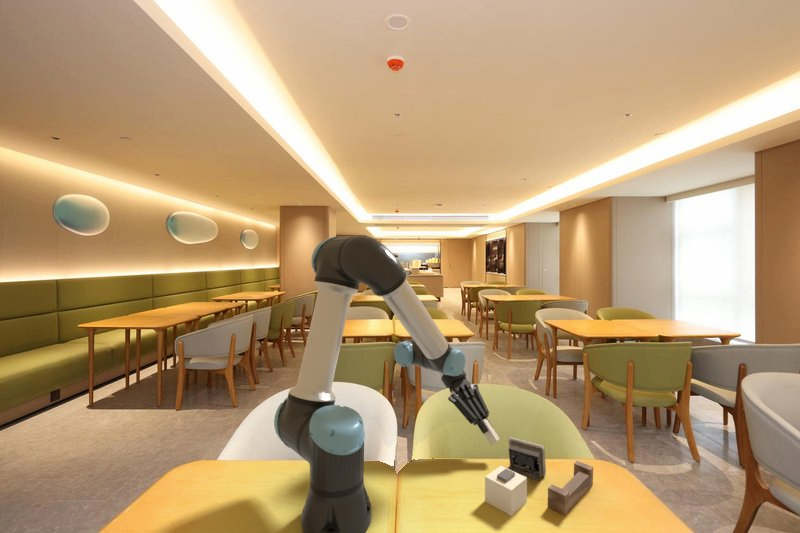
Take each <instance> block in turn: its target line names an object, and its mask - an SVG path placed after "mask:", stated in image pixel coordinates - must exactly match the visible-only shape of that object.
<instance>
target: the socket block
mask: <svg viewBox="0 0 800 533" xmlns="http://www.w3.org/2000/svg"><path fill="white" fill-rule="evenodd" d="M527 500H528V477H526V476H523V475H520V474H518V473H516V472H514V471H512V469H511V470H510V469H509V468H507V467H505V466H504V465H499V466H498V467H497V468H495V469H494V470H493V471H491V472H489V473H488V474H487V475H485V476H484V502H485V503H487V504H488V505H489V504H490V505H491V506H493V507H495V508H497V509H498V510H500V511H502V512H503V513H505V514H506V515H509V516H510V517H512V516H513V515H515V513H517V512H518V511H519V510H520V509H521V508H522V507H523V506H524V505H525V504H527V502H528V501H527Z"/></svg>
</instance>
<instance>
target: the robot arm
mask: <svg viewBox="0 0 800 533" xmlns="http://www.w3.org/2000/svg"><path fill="white" fill-rule="evenodd" d="M311 268H313V272H314V274H315V275H314V281H313V284H314V285H315V287H316V289H317V294H316V299H315V303H314V307H313V312H312V317H311V322H310V325H309V330H308V334H307V339H306V343H305V347H304V350H303V351H304V352H303V357H302V361H301V366H300V369H299V374H298V378H297V383H296V385H294V386H292V388H290V389H289V391H288V394H287V397H286V398H284V400H283V402H280V404H279V405H278V407H277V409H276V412H275V414H274V419H273V423H274V424H273V426H274V430H275V433H276V435H277V437H278V438H279V439H280V441H281V442H282V443H283V445H285V446H286V447H287V448H289V449H291V450H293V452H295V453H296V454H297V455H299V456H300V457H301V458H303V459H304V461H306V462H307V463H308V464H309V490H308V494H307V496H306V500H305V504H304V507H302V508H303V509H302V511H301V530H302V533H366V532H367V531H368V529H369V528H370V525H371V523H372V505H371V501H370V498H369V495H368V492H367V489H366V486H365V483H364V480H365V476H364V470H365V467H364V466H365V463H364V462H365V437H366V436H365V435H366V433H365V427H364V419H363V417H362V416H361V414H360V413H359V412H358V411H356V410H355V409H354V408H351V407H349V406H345V405H343V406H341V405H338V404H337V405H336V404H335V403H336V399H337V398H336V397H337V396H336V395H335V393H334V392H333V390H332V388H333V383H334V378H335V374H336V373H335V372H336V369H337V364H338V360H339V354H340V350H341V347H342V346H341V345H342V339H343V335H344V330H345V326H346V321H347V316H348V313H349V307H350V302H351V298H352V296H354V295H356V293H358V292H359V288H360V284H363V285H365V286H367V287H368V288H369V289H370V290H371V291H372V292H373V294H374V295H375V296H376V297H381V298H382V299H383V301H384V302H385V303H386V304H387V306H388V307H389V309H390V310H391V311H392V313H393V314H394V315H395V317H396V318H397V320H398V321H399V322H400V323H401V325H402V326H403V328H404V329H405V330H406V332H407V333H408V335H409V336H410V338H412V339H406V340H404V341H401V342H398V343H396V345H395V346H394V350H393V353H394V354H393V358H394V360H395V362H396V363H397V365H399V366H401V367H403V368H405V367H411V366H416V367H420V368H423V369H426V370H430V371H434V372H436V374H437V375H438V377H440V379H441V382H442V384H444V386H445V388H446V389H448V390H449V392H450V395H449V396H448V398H447V399H448V401H449V403H452V404H453V405H454V406H455V407H456V408H457V410H459V412H460V413H461V414H462V416H463V417H464V418H465V419H466V420H467V421H468V422H469V423H470V424H471V425H473V426H476V425H477V426H478V428H479V430H480V431H481V433H482V434H483V435H484V436H485V438H486V439H487V440H488V442H489V444H490V445H494V444H495V443H496V442H498V441H499V440H500V437H499V436H498V434H497V432H496V431H495V429H494V427H493V425H492V423H491V422H490V420H489V419H488V417H489V414H490V410H489V408H488V407H487V404H486V403H485V400H484V398H483V396H482V394H481V392H480V389H479V385H478V384H477V383H475V384H472V383H471V382H470V381H469V380H468V379H467V373H466V372H465V368H466V362H467V361H466V360H467V359H466V355H465V353H464V352H463V351H462V350H460V349H458V348H453V347H452V346H451V344H449V342H448V340H447V338H446V337H445V336H444V334H443V332H442V331H441V330H440V328H439V327H438V325H437V323H436V322H435V320H434V319H433V317H432V316H431V315H430V313H429V312H428V310H427V308H426V307H425V306H424V303H423V302H422V300H420V297H419V296H418V295H417V293H416V291H415V290H414V289H413V287H412V285H411V284H410V283H409V281H408V280H407V279H408V272H407V271H406V269H405V268H404V266H403V265H402V264H401V262H400V261H399V259H398V258H397V257H396V255H394V253H392V251H391V250H390V249H389V248H388V247H387V246H386V245H385V244H383V243H382V242H381V241H380V240H377V239H376V238H374V237H373V236H369V235H368V236H367V235H365V234H363V235H362V234H361V235H350V236H349V235H348V236H347V235H346V236H341V235H340V236H333V237H329V238H327V239H324V240H322V241H321V242H319V244H317V245H316V247H315V248H314V250H313V252H312V255H311Z"/></svg>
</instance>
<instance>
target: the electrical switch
mask: <svg viewBox="0 0 800 533" xmlns="http://www.w3.org/2000/svg"><path fill="white" fill-rule="evenodd" d="M508 445H509V446H508V454H509V455H508V458H509V468H510V469H509V470H512V471H514V472H516V473H518V474H520V475H522V476H524V477H527V478H530V479H531V480H536V481H538V482H540V481H541V478H542V476H543V477H545V476H546V473H547V470H546V469H547V468H546V465H547V464H546V448H545V447H544V445H543V444H540V443H535V442H531V441H528V440H524V439H522V438H517V437H513V436H509V438H508ZM526 471H527V472H526Z"/></svg>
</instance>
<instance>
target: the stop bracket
mask: <svg viewBox="0 0 800 533" xmlns="http://www.w3.org/2000/svg"><path fill="white" fill-rule="evenodd" d="M593 485H594V467H593V466H591V465H589V464H587V463H585V462H583V461H582V462H581V461H579V460H576V461H575V462H574V463H573V477H571V478H570V479H569V480H568V481H567V483H566V484H565V485H564V486H562V487H558V486H557V485H554V484H550V486H548V487H547V507H548V508H549V509H550V510H552V511H555V512H557V513H559V514H561V515H563V516H566V515H567V514H568V513H569V512H570V511H571V509H573V507H574V506H575V505H576V504H577V503H578V502H579V501H580V499H581V498H582V497H583V496H584V495H585V494H586V493H587V492H588V491H589V489H590V488H591V487H592V486H593Z"/></svg>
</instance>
